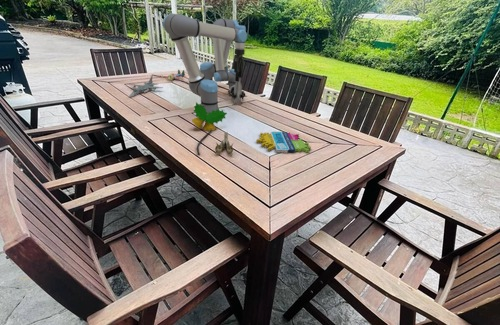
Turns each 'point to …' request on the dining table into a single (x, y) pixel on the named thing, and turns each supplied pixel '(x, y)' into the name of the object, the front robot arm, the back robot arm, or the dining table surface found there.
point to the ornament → (207, 117)
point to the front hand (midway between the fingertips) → (238, 80)
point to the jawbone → (224, 145)
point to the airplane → (143, 87)
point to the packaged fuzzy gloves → (283, 142)
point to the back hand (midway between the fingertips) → (238, 97)
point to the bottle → (237, 93)
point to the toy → (174, 76)
